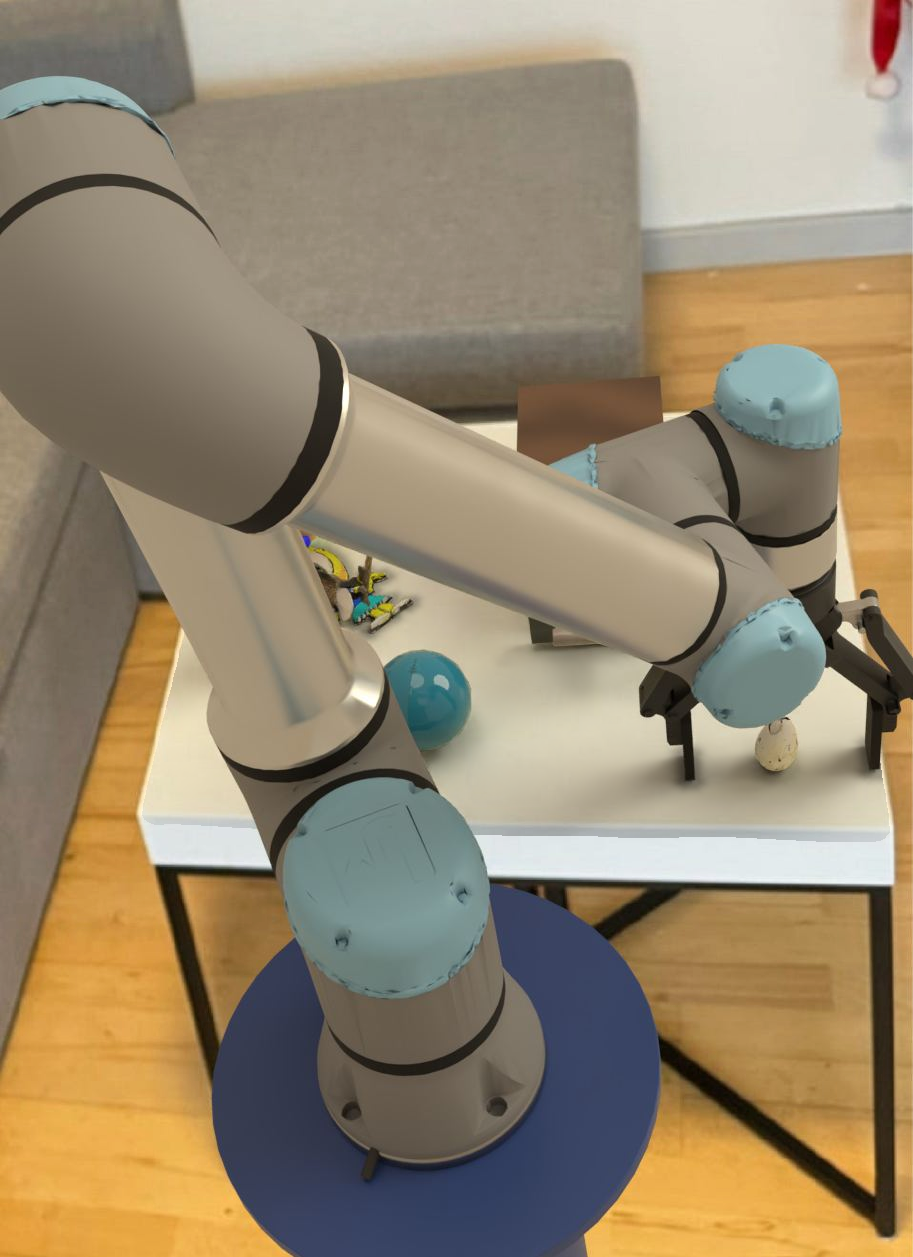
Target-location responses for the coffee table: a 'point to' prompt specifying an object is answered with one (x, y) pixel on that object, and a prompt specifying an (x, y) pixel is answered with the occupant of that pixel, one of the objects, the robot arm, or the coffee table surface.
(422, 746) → the ball
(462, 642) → the coffee table surface
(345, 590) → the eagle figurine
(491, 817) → the coffee table surface
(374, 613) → the toy
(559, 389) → the cabinet
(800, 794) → the coffee table surface
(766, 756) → the egg
